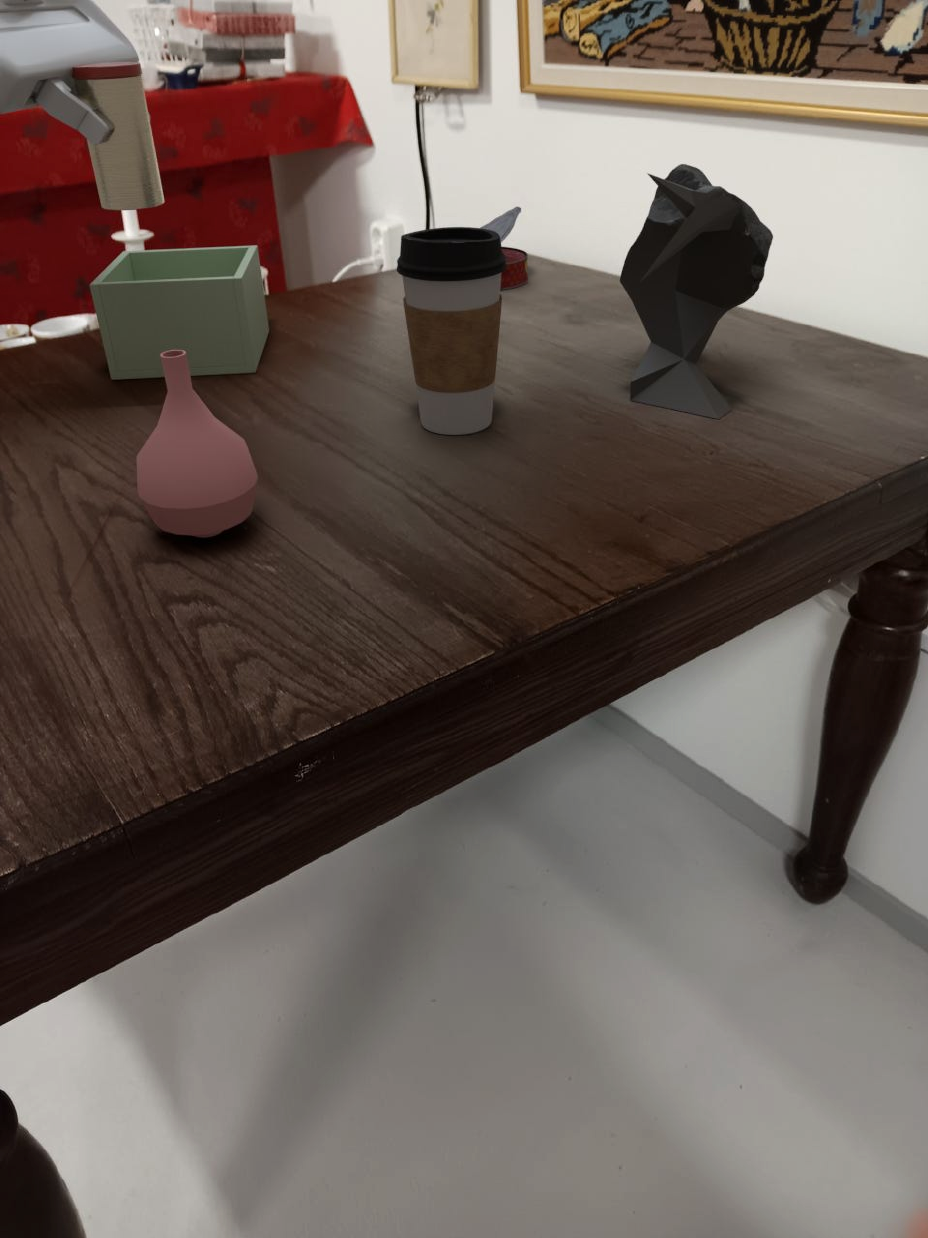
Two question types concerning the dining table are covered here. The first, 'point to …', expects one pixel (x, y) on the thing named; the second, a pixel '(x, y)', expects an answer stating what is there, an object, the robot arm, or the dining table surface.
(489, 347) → the coffee cup
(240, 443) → the pink vase
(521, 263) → the canned food
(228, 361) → the tote
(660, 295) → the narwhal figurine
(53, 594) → the dining table surface
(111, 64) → the spice tin
